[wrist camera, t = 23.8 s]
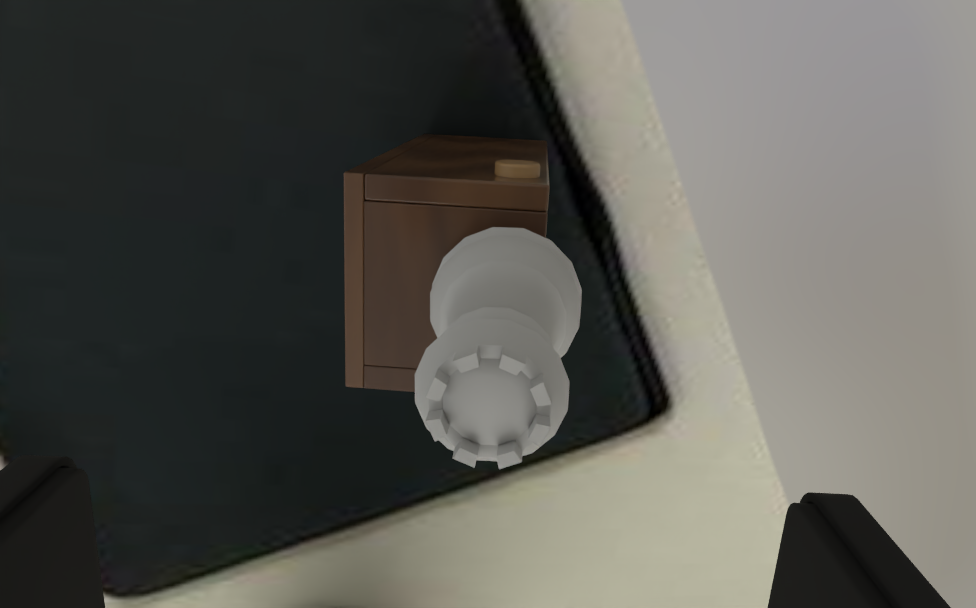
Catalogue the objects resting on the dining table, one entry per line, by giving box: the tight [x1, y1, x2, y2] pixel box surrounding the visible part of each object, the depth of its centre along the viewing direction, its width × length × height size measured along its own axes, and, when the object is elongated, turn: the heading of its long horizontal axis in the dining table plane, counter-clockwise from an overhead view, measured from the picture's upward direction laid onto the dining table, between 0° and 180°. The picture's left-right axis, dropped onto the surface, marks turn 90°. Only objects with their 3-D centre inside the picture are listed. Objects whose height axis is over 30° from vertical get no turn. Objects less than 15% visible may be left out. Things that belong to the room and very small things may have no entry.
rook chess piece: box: [415, 227, 582, 469], centre depth 18 cm, size 4×4×8 cm
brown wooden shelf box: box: [344, 134, 550, 392], centre depth 29 cm, size 15×8×6 cm
